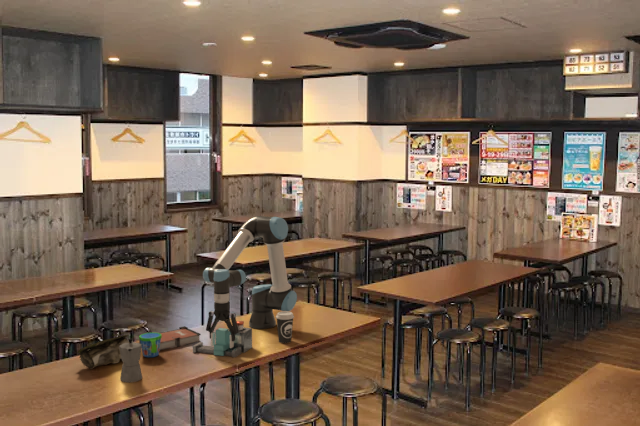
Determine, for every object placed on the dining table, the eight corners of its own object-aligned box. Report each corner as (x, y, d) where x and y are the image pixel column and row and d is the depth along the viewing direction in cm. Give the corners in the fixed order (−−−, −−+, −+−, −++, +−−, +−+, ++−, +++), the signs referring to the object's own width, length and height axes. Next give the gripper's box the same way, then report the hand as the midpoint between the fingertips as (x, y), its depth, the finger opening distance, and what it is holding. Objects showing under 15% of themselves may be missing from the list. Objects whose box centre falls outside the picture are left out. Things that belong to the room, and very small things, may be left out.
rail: (200, 348, 327) (199, 342, 327) (241, 353, 319) (241, 346, 319) (192, 352, 320) (192, 346, 320) (234, 357, 313) (234, 351, 312)
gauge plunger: (238, 332, 327) (238, 320, 327) (245, 333, 326) (245, 321, 325) (234, 335, 324) (234, 322, 323) (241, 335, 322) (241, 323, 322)
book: (155, 352, 321) (154, 342, 321) (139, 344, 334) (139, 335, 334) (201, 342, 338) (201, 333, 338) (184, 335, 351) (184, 326, 351)
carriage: (221, 350, 323) (221, 326, 322) (230, 351, 322) (230, 327, 320) (213, 354, 316) (213, 331, 315) (223, 356, 314) (222, 332, 313)
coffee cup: (295, 339, 343) (295, 311, 342) (292, 344, 334) (292, 315, 332) (277, 338, 344) (277, 310, 343) (274, 343, 335) (274, 315, 333)
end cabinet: (236, 345, 331) (235, 326, 330) (252, 347, 328) (251, 328, 327) (227, 351, 323) (227, 331, 322) (243, 352, 320) (243, 333, 319)
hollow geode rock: (80, 382, 293) (92, 363, 285) (68, 359, 297) (79, 340, 289) (132, 364, 314) (145, 346, 307) (120, 342, 319) (132, 325, 311)
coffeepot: (141, 383, 278) (140, 342, 276) (118, 385, 276) (117, 343, 274) (143, 371, 293) (142, 332, 291) (121, 373, 291) (120, 333, 289)
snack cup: (138, 352, 321) (137, 331, 320) (160, 349, 324) (159, 329, 323) (140, 361, 306) (140, 340, 305) (163, 359, 310) (163, 338, 309)
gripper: (197, 301, 316) (198, 346, 319) (238, 305, 309) (239, 350, 311) (205, 297, 323) (206, 341, 326) (245, 301, 316) (246, 346, 318)
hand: (222, 346), depth 318 cm, fingers open, 9 cm apart
